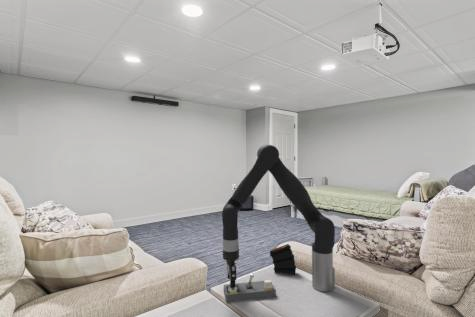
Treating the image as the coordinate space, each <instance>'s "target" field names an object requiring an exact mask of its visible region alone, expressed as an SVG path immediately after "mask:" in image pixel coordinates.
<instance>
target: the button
mask: <svg viewBox="0 0 475 317" xmlns="http://www.w3.org/2000/svg"><path fill="white" fill-rule="evenodd" d="M231 292H238V288H237V287H236V286H235V288H231V287H230V286H229V287H228V293H231Z"/></svg>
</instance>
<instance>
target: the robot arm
mask: <svg viewBox="0 0 475 317" xmlns="http://www.w3.org/2000/svg"><path fill="white" fill-rule="evenodd" d="M256 156H257V158H256V161H255V163H254V165H253V166H252V168H251V170H249V172H247V175H245V176H244V177H243V179H242V181H241V182H240V183H238V184H239V185H238V186H237V187H236V189H235V190H234V192H233V194H232V196H231V197H230V198H229V199H228V201H227V202H226V203H225V205H224V206H223V208H222V212H221V218H222V259H223V260H224V261H226V262H225V263H226V265H225V266H226V270H227V279H228V280H229V282H230V283H229V284H230V287H231V288H235V284H236V281H237V264H236V263H237V262H236V261H237V260H239V258H240V244H239V243H240V241H239V229H238V219H239V217H238V215H239V214H238V213H239V212H240V210H241V208H242V207H243V205H244V204H246V203H247V201H248V200H249V198H250V197H251V196H252V193H254V191H255V189H256V188H257V186H258V184H259V183H260V182H261V180H263V177H265V175H266V174H267V172H269V173H270V174H271V175H272V177H273V178H274V180H275V181H276V183H277V185H278V186H279V188H280V190H282V192H283V194H284V195H285V196H286V198H287V199H288V200H289V201H290V203H291V204H292V205H293V206H294V207H295V208H296V209H297V211H299V213H300V214H301V215H302V216H303V218H304V220H305V221H306V223H307V225H308V226H309V228H310V230H311V231H312V232H313V233H314V242H313V243H312V244H311V270H312V271H311V277H312V278H311V281H312V284H311V286H312V287H313V289H315V290H317V291H319V292H322V293H323V292H328V293H329V292H331V291H332V290H334V289H336V286H335V284H336V281H335V280H336V278H335V276H336V271H335V270H336V268H335V267H334V265H333V264H334V263H333V262H334V257H333V255H334V252H333V251H334V250H333V249H334V246H335V240H336V239H335V238H336V237H335V235H336V234H335V233H336V228H335V224H334V221H332V220H331V219H330V218H329V217H327V216H324V215H323V214H322V212H320V210H319V209H318V208H317V207H316V206H315V205H314V203H313V201H312V199H311V195H310V193H309V192H308V190H307V189H306V187H305V186H304V185H303V183H302V182H301V181H300V179H298V177H297V176H296V175H295V174H294V173H293V172H292V171H290V169H288V167H286V165H285V164H284V163H283V161H282V159H281V158H280V152H279V150H278V148H277V147H276V146H274V145H272V144H263V145H261V146H260V147H259V148H258V149H257V152H256Z"/></svg>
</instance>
